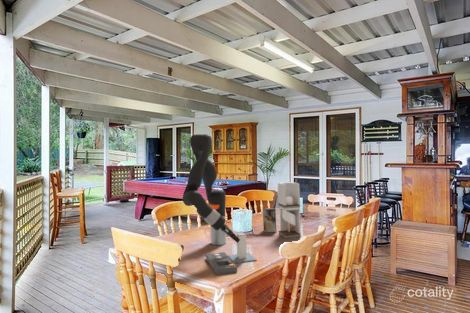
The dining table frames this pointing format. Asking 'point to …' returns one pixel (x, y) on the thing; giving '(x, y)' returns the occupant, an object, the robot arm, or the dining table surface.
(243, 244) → the white tall rectangular block
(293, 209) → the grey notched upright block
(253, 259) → the mat
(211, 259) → the power strip
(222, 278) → the dining table surface
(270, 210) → the coffee box
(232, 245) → the dining table surface
